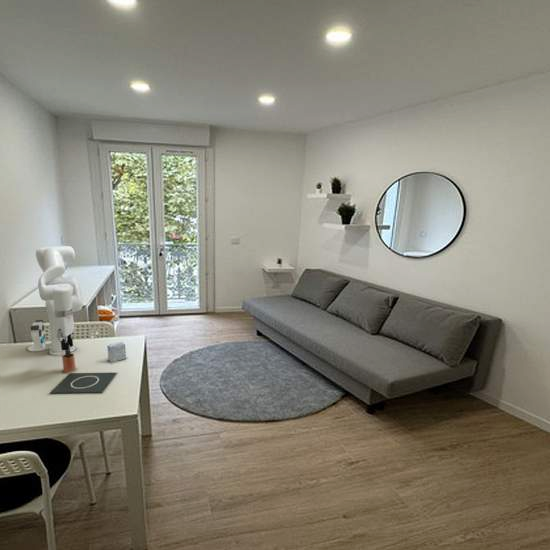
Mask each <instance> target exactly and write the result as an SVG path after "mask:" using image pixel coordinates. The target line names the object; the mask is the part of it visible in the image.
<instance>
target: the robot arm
mask: <svg viewBox="0 0 550 550" xmlns="http://www.w3.org/2000/svg"><path fill="white" fill-rule="evenodd" d="M35 258H36V261H37V263H38V266H39V267H40V269H41V270H42V274H40V276H39V278H38V282H37V288H38V293H39V297H40V299H41V300H42V301H44V302H45V303H44V304H45V310H46V312H47V316H48V323H49V331H50V341H51V343H50V344H45V348H48V349H49V350H48V353H49V355H52V356H61V355H62V356H63V355H65V350H69V345H70V353H71V354H72V353H73V352H74V351H75V350H76V346H75V345H74V341H73V338H74V336H73V334H74V332H75V328H76V327H75V321H74V312H80V311H82V309H83V303H84V302H83V299H82V292H81V287H80V283H79V280H78V279H77V278H76V277H75V276H66V277H65V276H63V275H64V274H65V273H66V265H65V263H70V262H71V263H72V262H74V261H75V259H76V251H75V249H74V248H73V247H72V246H70V245H60V246H57V245H56V246H43V247H39V248H37V249H36V250H35Z"/></svg>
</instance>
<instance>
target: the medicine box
mask: <svg viewBox="0 0 550 550" xmlns="http://www.w3.org/2000/svg"><path fill="white" fill-rule="evenodd" d="M106 347H107V359H108V361H109V362H110V363H114V362H119V361H122V360H125V359H127V351H126V343H125V342H123V341H120V342H115V343H111V344H108V345H107V346H106Z"/></svg>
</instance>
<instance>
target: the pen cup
mask: <svg viewBox="0 0 550 550" xmlns="http://www.w3.org/2000/svg"><path fill="white" fill-rule="evenodd" d="M61 359H62V360H61V361H62V369H63V372H64V373H72V372H75V370H76V359H75V354H74V353H71V357H68V358H66V355H65V354H62V356H61Z"/></svg>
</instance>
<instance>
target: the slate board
mask: <svg viewBox="0 0 550 550" xmlns="http://www.w3.org/2000/svg"><path fill="white" fill-rule="evenodd" d="M116 375H117V372H69V374H67V376H65V377H64V378H63V379H62V380H61V381H60V382H59V383H58V384H57V386H55V388H53V389H52V390H51V391H50V393H49V394H50V395H51V394H52V395H57V394H58V395H59V394H63V395H64V394H65V395H67V394H102V393H103V392H104V391H105V389H106V388H107V387H108V385H110V383H111V382H112V380H113V379H114V377H115V376H116Z"/></svg>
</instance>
